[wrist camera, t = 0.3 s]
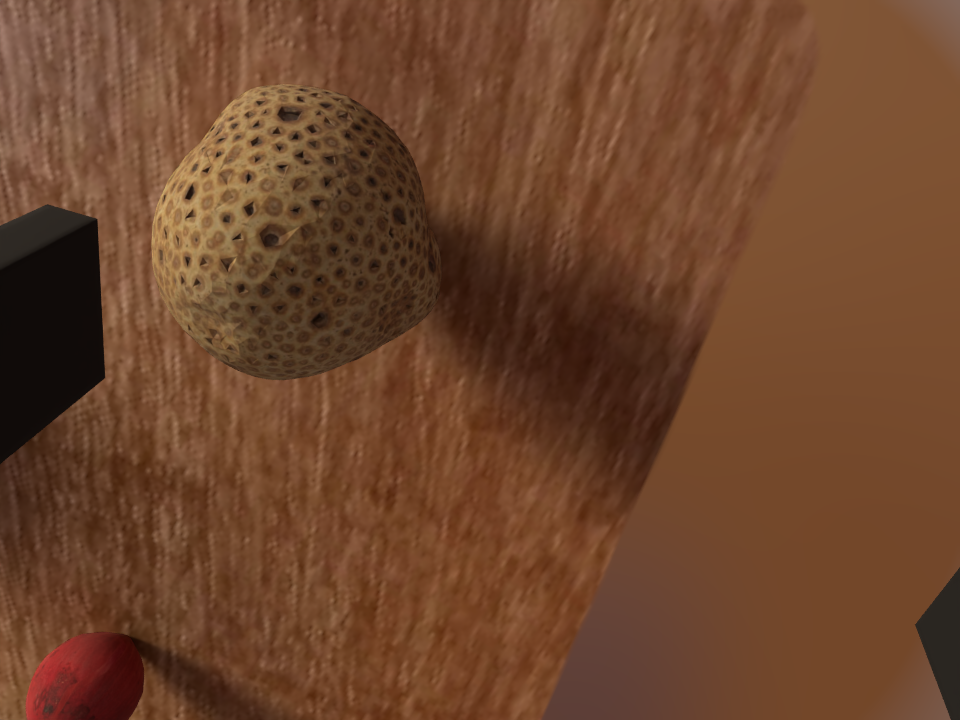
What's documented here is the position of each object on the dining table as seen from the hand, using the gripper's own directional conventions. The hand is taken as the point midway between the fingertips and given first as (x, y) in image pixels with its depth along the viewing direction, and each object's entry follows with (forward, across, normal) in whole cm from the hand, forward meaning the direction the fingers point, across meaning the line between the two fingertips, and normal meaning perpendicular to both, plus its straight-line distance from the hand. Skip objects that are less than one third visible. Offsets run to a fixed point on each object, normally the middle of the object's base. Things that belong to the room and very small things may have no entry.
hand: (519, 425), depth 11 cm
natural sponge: (+19, -8, -4) cm, 21 cm away
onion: (+19, -19, -36) cm, 45 cm away
